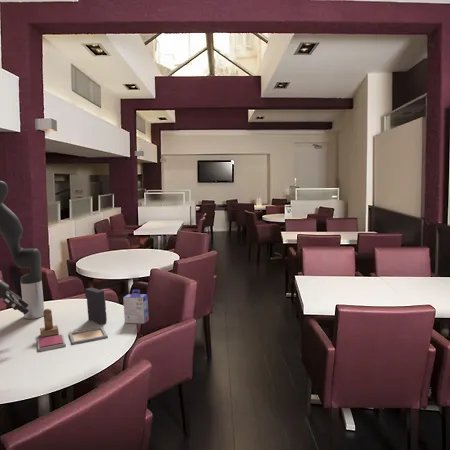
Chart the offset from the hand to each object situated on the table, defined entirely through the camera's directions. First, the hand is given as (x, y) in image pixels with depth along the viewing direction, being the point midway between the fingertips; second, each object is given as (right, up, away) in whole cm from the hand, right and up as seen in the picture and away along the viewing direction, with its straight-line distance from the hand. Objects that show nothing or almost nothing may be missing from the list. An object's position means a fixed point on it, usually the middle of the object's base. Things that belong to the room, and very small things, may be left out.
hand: (27, 309), depth 180 cm
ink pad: (+12, -13, -5) cm, 18 cm away
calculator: (+23, -9, +20) cm, 32 cm away
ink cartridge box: (+42, -9, +18) cm, 47 cm away
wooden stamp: (+7, -12, +5) cm, 15 cm away
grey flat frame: (+25, -12, +2) cm, 27 cm away
